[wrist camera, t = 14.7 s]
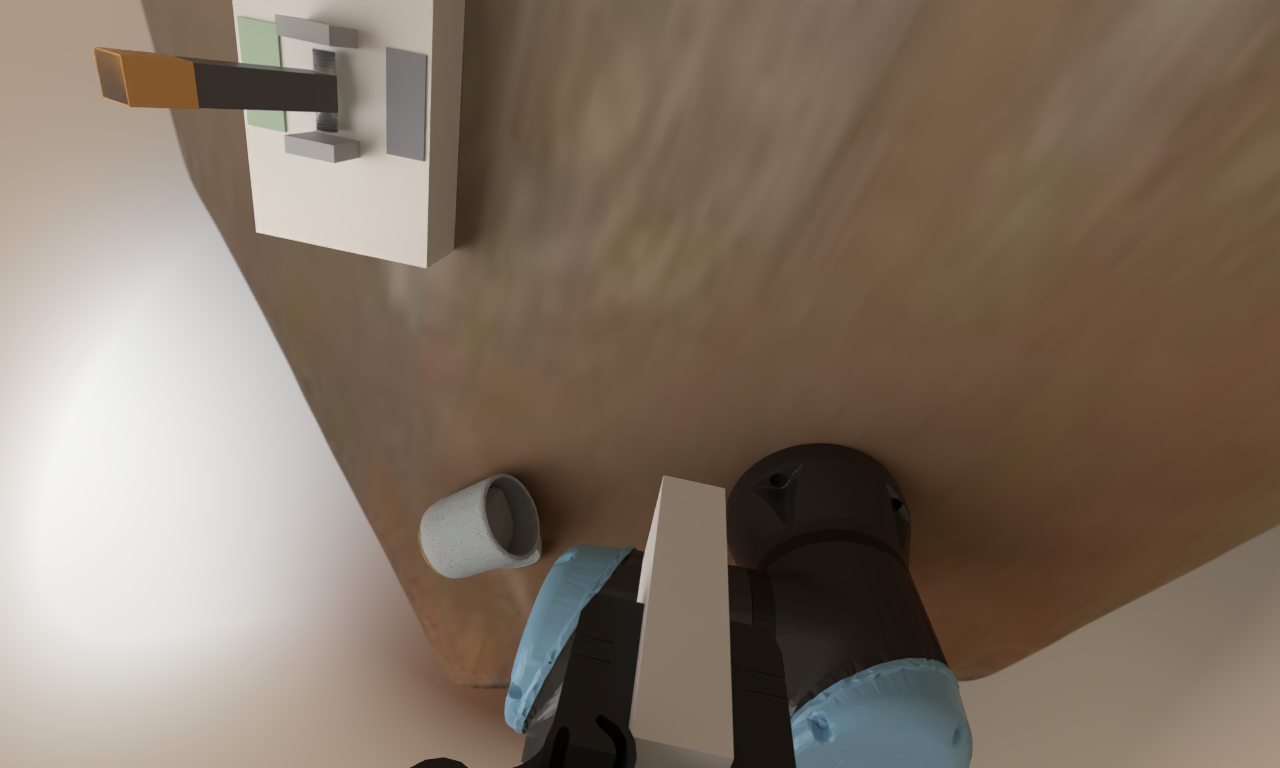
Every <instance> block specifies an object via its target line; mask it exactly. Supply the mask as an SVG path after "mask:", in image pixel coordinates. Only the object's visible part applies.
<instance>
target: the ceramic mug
mask: <svg viewBox="0 0 1280 768" xmlns="http://www.w3.org/2000/svg"><path fill="white" fill-rule="evenodd" d="M418 538H419V544H420V548H421V552H422V555H423V557H424V559H425V561H426V562H427V563H428V565H429V566H430V567H431V568H432V569H433V570H434V571H435V572H436V573H438V574H439V575H441V576H444V577H447V578H463V577H469V576H473V575H476V574H479V573H482V572H485V571H488V570H491V569H496V568H519V567H524V566H527V565H531V564H533V563H535V562H536V561H538V560H539V558H540V556H541V552H542V550H541V549H542V540H541V537H540V523H539V516H538V513H537V509H536V506H535V503H534V501H533V499H532V497H531V495H530V494H529V492H528V490H527V489H526V488H525V486H524V485H523V484H522V483H521V482H520V481H519V480H518V479H516V478H515V477H513V476H511V475H508V474H497V475H493V476H491V477H489V478H487V479H485V480H483V481H480V482H478V483H476V484H473V485H471V486H469V487H467V488H465V489H463V490H461V491H458V492H456V493H454V494H451V495H449V496H447V497H445V498H443V499H441V500H439V501H437V502H436V503H435V504H433V505H432V506H430V507H429V508H428V509H427V511H426V512H425V513H424V515H423V517H422V519H421V522H420V526H419V535H418Z"/></svg>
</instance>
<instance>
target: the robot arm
mask: <svg viewBox="0 0 1280 768" xmlns="http://www.w3.org/2000/svg"><path fill="white" fill-rule="evenodd" d="M726 533H727V534H726ZM910 536H911V521H910V515H909V510H908V507H907V504H906V502H905V500H904V497H903V495H902V493H901V491H900V489H899V487H898V484H897V483H896V481H895V480H894V478H893V477H892V475H891V474H890V473H889V472H888V471H887V470H886V469H885V468H884V467H883V466H882V465H881V464H879V463H878V462H877V461H875V460H874V459H872V458H871V457H869V456H867V455H865V454H863V453H861V452H858V451H856V450H853V449H850V448H846V447H842V446H837V445H829V444H809V445H800V446H795V447H791V448H787V449H784V450H781V451H778V452H776V453H773V454H771V455H769V456H767V457H765V458H764V459H762V460H760V461H759V462H757V463H756V464H755V465H753V466H752V467H751V468H750V469H749V470H747V471H746V472H745V473H744V475H743V476H742V477H741V478H740V479H739V480H738V482H737V483H736V485H735V487H734V488H733V490H732V492H731V494H730V497H729V500H728V504H727V509H726V503H725V488H721V487H716V486H711V485H707V484H702V483H697V482H693V481H688V480H683V479H679V478H674V477H669V476H665V475H664V476H663V480H662V484H661V488H660V492H659V496H658V500H657V504H656V509H655V513H654V517H653V521H652V525H651V529H650V533H649V537H648V541H647V545H646V549H645V552H644V551H638V550H637V549H636V547H633V546H627V547H626V548H624V549H623V548H614V547H605V546H596V545H578V546H575V547H572V548H571V549H569V550H567V551H566V552H565V553H563V554H562V555H561V556H560V557H559V558H558V560H557V561H556V562H555V564H554V565H553V567H552V569H551V570H550V572H549V574H548V575H547V577H546V579H545V581H544V583H543V585H542V587H541V590H540V592H539V594H538V596H537V599H536V601H535V603H534V606H533V608H532V611H531V613H530V616H529V619H528V621H527V624H526V627H525V630H524V633H523V636H522V639H521V642H520V645H519V648H518V652H517V655H516V658H515V662H514V666H513V669H512V674H511V679H512V681H511V683H510V687H509V691H508V694H507V697H506V702H505V720H506V723H507V724H508V726H510V727H512V728H513V729H514V730H515V731H516V732H517V733H523V734H524V733H526V741H525V746H524V750H523V756H522V760H521V765H519V766H517V767H514V768H969V765H970V760H971V757H972V735H971V730H970V726H969V723H968V720H967V716H966V714H965V710H964V707H963V704H962V700H961V697H960V693H959V685H958V682H957V678H956V677H955V675H954V674H953V672H952V671H951V669H950V668H949V666H948V664H947V661H946V659H945V656H944V654H943V651H942V649H941V647H940V644H939V642H938V639H937V637H936V635H935V632H934V630H933V627H932V625H931V622H930V620H929V618H928V615H927V613H926V610H925V608H924V606H923V603H922V601H921V598H920V596H919V594H918V591H917V589H916V586H915V584H914V581H913V579H912V577H911V574H910V572H909V569H908V566H909V551H910ZM727 541H728V545H729V548H730V551H731V554H732V556H733V558H734V560H735V562H736V564H737V565H738V566H732V565H727ZM411 768H468V767H466V766H465V765H464V764H463V763H462V762H459V761H456V760H452V759H448V758H436V759H428V760H424V761H422V762H420V763H418V764H416V765H415V766H413V767H411Z"/></svg>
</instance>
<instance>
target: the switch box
mask: <svg viewBox="0 0 1280 768" xmlns="http://www.w3.org/2000/svg"><path fill="white" fill-rule="evenodd" d="M232 1H233V11H234V21H235V30H236V40H237V50H238V59H239V63H248V64H258V65H268V66H278V67H288V68H298V69H308V70H313V54H312V48H316V49H323V50H328V51H333V52H335V55H336V76H337V91H338V133H330V132H323V131H319V130H317V128H316V112H298V111H270V110H244V118H245V127H246V137H247V147H248V157H249V166H250V176H251V186H252V195H253V205H254V215H255V225H256V232H257V233H262V234H267V235H272V236H276V237H281V238H286V239H291V240H295V241H300V242H305V243H309V244H314V245H319V246H324V247H328V248H333V249H338V250H343V251H347V252H352V253H357V254H362V255H366V256H371V257H376V258H380V259H385V260H390V261H395V262H399V263H404V264H409V265H414V266H418V267H423V268H428V267H429V266H431V265H432V264H434V263H435V262H437V261H438V260H440V259H441V258H443V257H445V256H446V255H448V254H449V253H451V252H452V251H454V239H455V216H456V194H457V172H458V150H459V128H460V105H461V83H462V61H463V39H464V17H465V0H232Z"/></svg>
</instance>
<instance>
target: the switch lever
mask: <svg viewBox="0 0 1280 768" xmlns="http://www.w3.org/2000/svg"><path fill="white" fill-rule="evenodd" d="M93 51H94V56H95V61H96V66H97V71H98V76H99V81H100V86H101V91H102V96H103V98H105V99H109V100H111V101H114V102H117V103H120V104H123V105H126V106H129V107H150V108H151V107H152V108H179V109H199V108H215V109H243V110H270V111H298V112H316V128H317V130H319V131H323V132H330V133H338V91H337V76H336V55H335V52H333V51H328V50H323V49H316V48H312V54H313V70H308V69H298V68H288V67H278V66H268V65H258V64H248V63H238V62H228V61H218V60H208V59H198V58H188V57H178V56H171V55H167V54H160V53H149V52H140V51H130V50H119V49H110V48H100V47H93Z"/></svg>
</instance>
